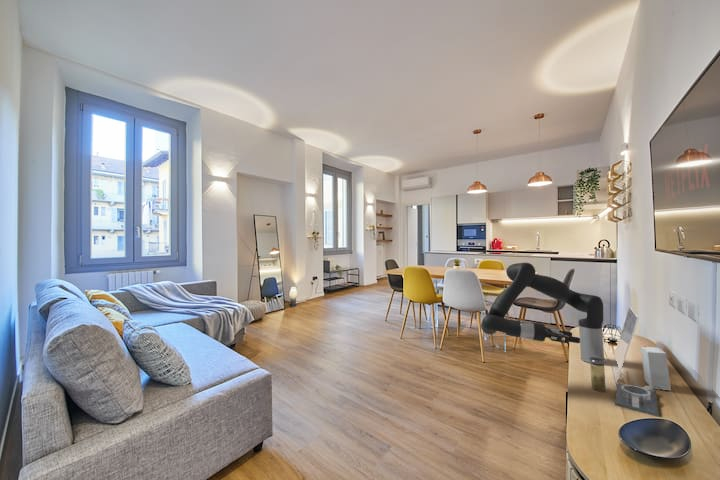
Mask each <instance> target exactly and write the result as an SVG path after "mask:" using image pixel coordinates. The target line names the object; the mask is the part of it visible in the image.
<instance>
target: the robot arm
mask: <svg viewBox="0 0 720 480" xmlns="http://www.w3.org/2000/svg"><path fill="white" fill-rule="evenodd" d="M505 272H506V276H507V278H508V279H509V280H511V281H512V282H511V284H509V285H508V286H507V287H506V288H505V289H504V290H502V291H501V292H500V293H499V294H498V295H497V297H496V298H495V299H494V301H493V302H492V304H491V307H490V309H489V311H488V312H487V314H486V315H485V316H484V317H483V318H482V319H481V323H480V328H481V330H482V332H483V333H485V334H487V335H494V334H495V333H497V332H499V333H504V334H505V335H506V336H510V337H514V338H520V339H521V338H522V339H524V340H529V341H537V342H545V340H546V338H548V339H549V340H550V341H551V342H556V343H557V342H558V343H563V344H569V343H574V344H579V347H580V359H581V360H582V361H583V362H586V363H589V364H590V358H591V357H595V358H600V359H603V360H604V361H605V352H604V337H603V336H604V335H603V324H604V302H603V300H602V298H600V296H597V295H592V294H586V293H581V292H577V291H574V290H571V289H570V287H569V286H568V285H567V284H566V283H565V282H563V281H561V280H559V279H557V278H554V277H551V276H547V275H541V274H537V273H536V268H535V266H534V265H533V264H532V263H530V262H519V263H517V262H516V263H513V264H511V265H509V266H508V267H507V268H506V271H505ZM527 287H529V288H531V289H533V290H535V291H537V292H540V293H542V294H543V295H545V296H548V297H549V298H552V299H555V300H557V301H559V302H562V303H565V304H567V305H569V306H571V308H574V309H575V310H577V311H579V312H581V313H586V317H585V318H579V320H578V333H579V337H578V336H573V333H572V332H571V331H568V330H567V331H566V330H561V329H558V328H555V327H549V326H545V324H544V323H540V322H532V321H527V320H514V319H508V318H506V316H507V314H508V313H509V311H510V309H511V308H512V306H513V305H514V303H515V301H516V300H517V299H518V297H519V296H520V295H521V294H522V292H523V291H524V290H525V289H526V288H527Z"/></svg>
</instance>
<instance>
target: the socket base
mask: <svg viewBox="0 0 720 480" xmlns="http://www.w3.org/2000/svg"><path fill="white" fill-rule="evenodd" d="M657 399H658V398H657V392H656V390H655V389H654V388H653V387H650V386H649V385H645V386H643V387H641V386H636V385H632V384H625V383H620V382H617V384H616V393H615V400H614V404H615V406H617V407H620V408H624V409H629V410H632V411H635V412H640V413H644V414H647V415H650V416H655V417H659V409H658V407H659V406H658V400H657Z"/></svg>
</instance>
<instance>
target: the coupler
mask: <svg viewBox="0 0 720 480" xmlns="http://www.w3.org/2000/svg"><path fill="white" fill-rule="evenodd" d="M589 364H590V365H589V367H590V377H591V378H590V380H591V381H590V382H591V389H592V390H594V391H596V392H598V393H599V392H600V393H605V392H606V391H607V390H606V389H607V388H606V375H605V359H604V360H603V359H600V358H595V357H591V358H590V363H589Z"/></svg>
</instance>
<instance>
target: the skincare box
mask: <svg viewBox="0 0 720 480" xmlns="http://www.w3.org/2000/svg"><path fill="white" fill-rule="evenodd" d="M640 351H641V359H642V368H643V369H642V370H643V377H644V382H645V383H646V384H647V386H650V387H653V388H654V390H660V389H662V390H661V391H665V390H670V391H669V392H671V391H672V388H671V381H670V371H669V365H668V355H667V352H665V351H664V350H662V349H661V348H659V347H653V346H640Z"/></svg>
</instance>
